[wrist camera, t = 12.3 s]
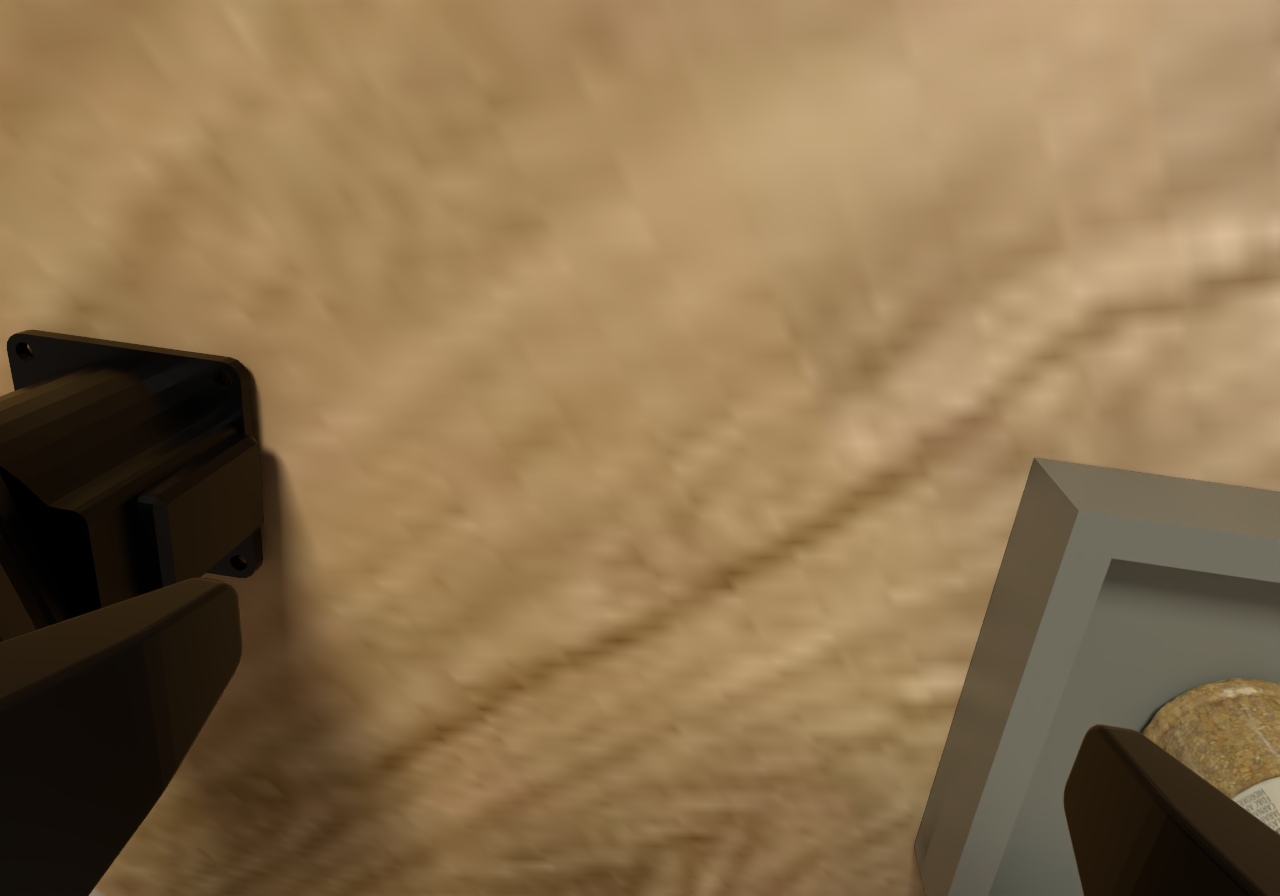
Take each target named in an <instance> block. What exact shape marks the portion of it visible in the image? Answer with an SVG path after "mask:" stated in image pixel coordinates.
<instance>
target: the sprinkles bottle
mask: <svg viewBox="0 0 1280 896" xmlns="http://www.w3.org/2000/svg"><path fill="white" fill-rule="evenodd" d="M1142 734H1143V735H1144V736H1146V737H1147V738H1148V739H1150V740H1151V741H1153V742H1154V743H1155V744H1157V745H1158V746H1159V747H1161V748H1162V749H1163V750H1165V751H1166V752H1168V753H1169V754H1170V755H1172V756H1173V757H1174V758H1176V759H1177V760H1179V761H1180V762H1181V763H1183V764H1184V765H1185V766H1187V767H1188V768H1189V769H1191V770H1192V771H1194V772H1195V773H1196V774H1198V775H1199V776H1200V777H1202V778H1203V779H1204V780H1206V781H1207V782H1209V783H1210V784H1211V785H1213V786H1214V787H1215V788H1217V789H1218V790H1220V791H1221V792H1222V793H1224V794H1225V795H1226V796H1228V797H1229V798H1230V799H1232V800H1233V801H1235V802H1236V803H1237V804H1239V805H1240V806H1241V807H1243V808H1244V809H1245V810H1247V811H1248V812H1250V813H1251V814H1252V815H1254V816H1255V817H1256V818H1258V819H1259V820H1261V821H1262V822H1263V823H1265V824H1266V825H1267V826H1269V827H1270V828H1271V829H1273V830H1274V831H1276V832H1277V833H1278V834H1280V684H1278V683H1273V682H1268V681H1263V680H1257V679H1249V680H1247V679H1242V678H1232V679H1226V680H1222V681H1217V682H1212V683H1207V684H1203V685H1200V686H1197V687H1195V688H1192V689H1190V690H1188V691H1186V692H1185V693H1183V694H1181V695H1179V696H1177V697H1176V698H1175V699H1174V700H1172V701H1170V702H1168V703H1167V704H1166V705H1164V706H1163V707H1162V708H1160V709H1159V711H1158V712H1157V713H1156V714H1155V716H1154V717H1153V719H1152V720H1151V722H1150V723H1149V724H1148V726H1147V727H1146V728H1145V729H1144V731H1143V733H1142Z"/></svg>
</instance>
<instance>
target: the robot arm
mask: <svg viewBox="0 0 1280 896" xmlns="http://www.w3.org/2000/svg"><path fill="white" fill-rule="evenodd" d="M27 345H29V346H30V347H31V348H32V350H33V352H34V355H33V354H32V353H30V352H29V349H28V347H27ZM7 352H8V357H9V363H10V368H11V373H12V379H13V384H14V389H15V391H14V392H11V393H9V394H6V395H3V396H1V397H0V896H89V894H90V893H91V892H92V890H93V889H94V887H95V886H96V885H97V883H98V882H99V881H100V879H101V878H102V877H103V875H104V874H105V872H106V871H107V870H108V868H109V867H110V866H111V864H112V863H113V862H114V860H115V859H116V857H117V856H118V855H119V853H120V852H121V851H122V849H123V848H124V846H125V845H126V844H127V842H128V841H129V840H130V838H131V837H132V836H133V834H134V833H135V831H136V830H137V829H138V827H139V826H140V825H141V823H142V822H143V820H144V819H145V818H146V816H147V815H148V814H149V812H150V811H151V809H152V808H153V807H154V805H155V804H156V802H157V801H158V799H159V798H160V797H161V795H162V794H163V792H164V791H165V789H166V788H167V786H168V784H169V783H170V781H171V780H172V778H173V776H174V775H175V773H176V772H177V770H178V768H179V767H180V765H181V763H182V762H183V760H184V758H185V756H186V755H187V753H188V751H189V750H190V748H191V746H192V745H193V743H194V741H195V739H196V738H197V736H198V734H199V733H200V731H201V729H202V727H203V726H204V724H205V722H206V721H207V719H208V717H209V716H210V714H211V712H212V710H213V709H214V707H215V705H216V704H217V702H218V700H219V699H220V697H221V695H222V693H223V692H224V690H225V688H226V687H227V685H228V683H229V682H230V680H231V678H232V676H233V675H234V673H235V671H236V669H237V667H238V665H239V662H240V659H241V655H242V635H241V623H240V612H239V600H238V594H237V591H236V589H235V587H234V586H233V585H232V584H230V583H229V582H224V581H218V580H212V579H206V578H200V577H201V576H202V575H204V574H205V573H213V574H219V575H225V576H232V577H238V578H247V577H249V576H251V575H252V574H253V573H254V572H255V571H256V570H258V569H259V567H260V566H261V565H262V561H263V555H262V541H261V528H260V526H261V525H262V524H263V522H264V516H263V502H262V489H261V475H260V461H259V447H258V444H257V442H256V440H255V439H254V434H253V421H252V408H251V394H250V381H249V375H248V371H247V370H246V368H245V367H244V365H243V364H242V363H240V362H239V361H238V360H236V359H233V358H230V357H223V356H216V355H209V354H202V353H195V352H188V351H181V350H173V349H166V348H159V347H152V346H145V345H138V344H131V343H124V342H116V341H109V340H102V339H95V338H88V337H81V336H74V335H67V334H59V333H52V332H45V331H38V330H26V331H23V332H19V333H16V334H14V335H12V336H11V337H10V338H9V340H8V342H7ZM222 371H224V372H227V373H228V374H229V375H230V377H231V379H232V384H229V383H227V382H226V381H225V380H224V379H223V376H222ZM238 555H240V556H242V557H243V558H244V559H245V560H246V562H247V564H246V563H244V562H242V561H241V560H240V559H239V557H238ZM1063 802H1064V811H1065V816H1066V820H1067V825H1068V829H1069V833H1070V838H1071V842H1072V847H1073V851H1074V855H1075V860H1076V864H1077V868H1078V873H1079V877H1080V881H1081V886H1082V890H1083V895H1084V896H1280V834H1278V833H1277V832H1276V831H1274V830H1273V829H1271V828H1270V827H1269V826H1267V825H1266V824H1265V823H1263V822H1262V821H1261V820H1259V819H1258V818H1256V817H1255V816H1254V815H1252V814H1251V813H1250V812H1248V811H1247V810H1245V809H1244V808H1243V807H1241V806H1240V805H1239V804H1237V803H1236V802H1235V801H1233V800H1232V799H1230V798H1229V797H1228V796H1226V795H1225V794H1224V793H1222V792H1221V791H1220V790H1218V789H1217V788H1215V787H1214V786H1213V785H1211V784H1210V783H1209V782H1207V781H1206V780H1204V779H1203V778H1202V777H1200V776H1199V775H1198V774H1196V773H1195V772H1194V771H1192V770H1191V769H1189V768H1188V767H1187V766H1185V765H1184V764H1183V763H1181V762H1180V761H1179V760H1177V759H1176V758H1174V757H1173V756H1172V755H1170V754H1169V753H1168V752H1166V751H1165V750H1163V749H1162V748H1161V747H1159V746H1158V745H1157V744H1155V743H1154V742H1153V741H1151V740H1150V739H1148V738H1147V737H1146V736H1144V735H1143V734H1141V733H1140V732H1138V731H1135V730H1132V729H1127V728H1120V727H1114V726H1108V725H1102V724H1097V725H1095V726H1092V727H1090V729H1089V730H1088V731H1087V732H1086V734H1085V736H1084V738H1083V741H1082V743H1081V746H1080V749H1079V751H1078V754H1077V756H1076V759H1075V761H1074V764H1073V766H1072V769H1071V772H1070V774H1069V777H1068V779H1067V782H1066V785H1065V789H1064V798H1063Z"/></svg>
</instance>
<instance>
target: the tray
mask: <svg viewBox="0 0 1280 896" xmlns="http://www.w3.org/2000/svg"><path fill="white" fill-rule="evenodd" d="M1232 678H1242V679H1247V680H1249V679H1257V680H1263V681H1268V682H1273V683H1278V684H1280V492H1276V491H1269V490H1262V489H1255V488H1248V487H1241V486H1233V485H1226V484H1219V483H1212V482H1205V481H1197V480H1190V479H1183V478H1176V477H1169V476H1162V475H1154V474H1147V473H1140V472H1133V471H1126V470H1118V469H1111V468H1104V467H1097V466H1090V465H1083V464H1075V463H1068V462H1061V461H1054V460H1047V459H1039V458H1034V461H1033V464H1032V468H1031V471H1030V474H1029V477H1028V480H1027V484H1026V487H1025V490H1024V493H1023V497H1022V500H1021V503H1020V506H1019V509H1018V513H1017V516H1016V519H1015V522H1014V526H1013V529H1012V532H1011V535H1010V538H1009V542H1008V545H1007V548H1006V551H1005V555H1004V558H1003V561H1002V564H1001V567H1000V571H999V574H998V577H997V580H996V584H995V587H994V590H993V593H992V596H991V600H990V603H989V606H988V609H987V613H986V616H985V619H984V622H983V625H982V629H981V632H980V635H979V638H978V642H977V645H976V648H975V651H974V655H973V658H972V661H971V664H970V667H969V671H968V674H967V677H966V680H965V684H964V687H963V690H962V693H961V696H960V700H959V703H958V706H957V709H956V713H955V716H954V719H953V722H952V725H951V729H950V732H949V735H948V738H947V742H946V745H945V748H944V751H943V754H942V758H941V761H940V764H939V767H938V771H937V774H936V777H935V780H934V783H933V787H932V790H931V793H930V796H929V800H928V803H927V806H926V809H925V812H924V816H923V819H922V822H921V825H920V829H919V832H918V835H917V838H916V841H915V845H914V848H915V853H916V857H917V861H918V866H919V870H920V874H921V879H922V883H923V887H924V892H925V896H1084V895H1083V890H1082V886H1081V881H1080V877H1079V873H1078V868H1077V864H1076V860H1075V855H1074V851H1073V847H1072V842H1071V838H1070V833H1069V829H1068V825H1067V820H1066V816H1065V811H1064V802H1063V798H1064V789H1065V785H1066V782H1067V779H1068V777H1069V774H1070V772H1071V769H1072V766H1073V764H1074V761H1075V759H1076V756H1077V754H1078V751H1079V749H1080V746H1081V743H1082V741H1083V738H1084V736H1085V734H1086V732H1087V731H1088V730H1089V729H1090V727H1092V726H1095V725H1097V724H1102V725H1108V726H1114V727H1120V728H1127V729H1132V730H1135V731H1138V732H1140V733H1141V734H1142V733H1143V731H1144V729H1145V728H1146V727H1147V726H1148V724H1149V723H1150V722H1151V720H1152V719H1153V717H1154V716H1155V714H1156V713H1157V712H1158V711H1159V709H1160V708H1162V707H1163V706H1164V705H1166V704H1167V703H1168V702H1170V701H1172V700H1174V699H1175V698H1176V697H1177V696H1179V695H1181V694H1183V693H1185V692H1186V691H1188V690H1190V689H1192V688H1195V687H1197V686H1200V685H1203V684H1207V683H1212V682H1217V681H1222V680H1226V679H1232Z"/></svg>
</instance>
